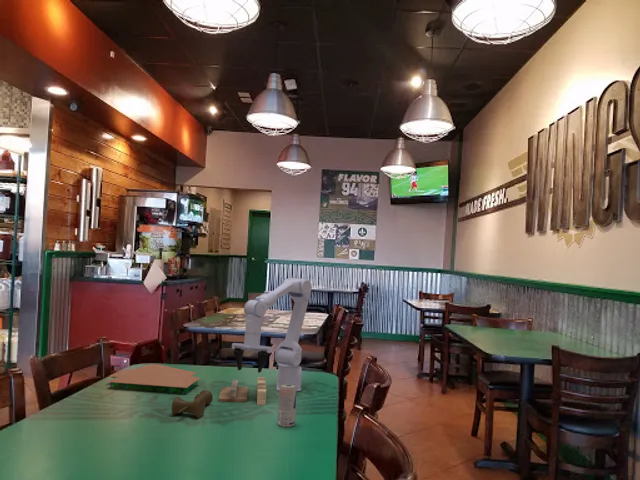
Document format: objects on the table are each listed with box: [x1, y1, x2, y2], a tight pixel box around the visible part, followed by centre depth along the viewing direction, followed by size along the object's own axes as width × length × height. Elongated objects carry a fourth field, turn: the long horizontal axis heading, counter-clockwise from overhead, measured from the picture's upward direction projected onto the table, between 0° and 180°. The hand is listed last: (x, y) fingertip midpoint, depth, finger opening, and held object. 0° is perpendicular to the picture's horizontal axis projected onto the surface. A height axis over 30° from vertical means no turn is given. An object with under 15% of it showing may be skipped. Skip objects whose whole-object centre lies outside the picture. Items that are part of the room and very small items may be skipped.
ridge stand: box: [217, 379, 249, 403], centre depth 182 cm, size 10×16×4 cm, turn 7°
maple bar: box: [256, 376, 267, 406], centre depth 182 cm, size 20×3×5 cm, turn 8°
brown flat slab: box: [107, 363, 201, 395], centre depth 192 cm, size 23×33×8 cm
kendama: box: [171, 389, 213, 419], centre depth 161 cm, size 6×10×20 cm
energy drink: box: [277, 384, 297, 428], centre depth 153 cm, size 5×5×12 cm
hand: (249, 370), depth 178 cm, fingers open, 7 cm apart
